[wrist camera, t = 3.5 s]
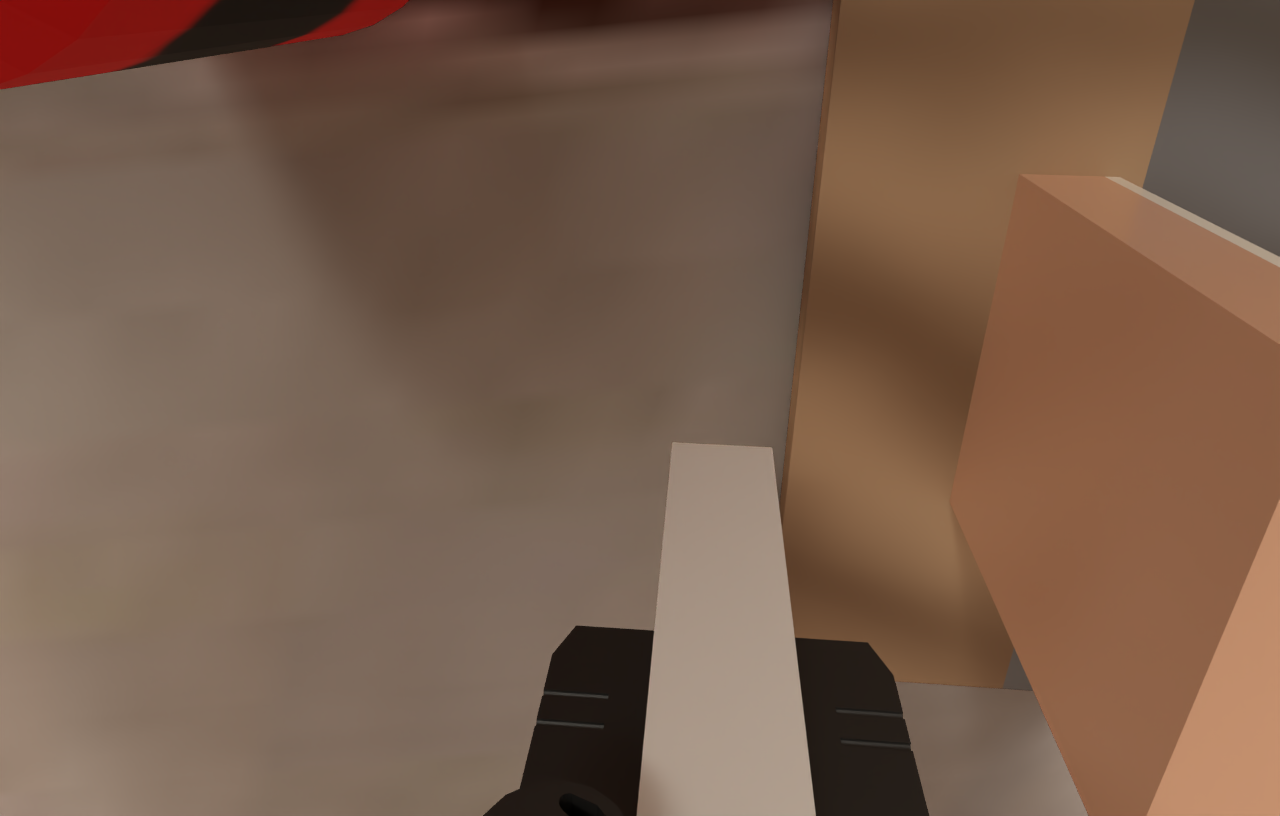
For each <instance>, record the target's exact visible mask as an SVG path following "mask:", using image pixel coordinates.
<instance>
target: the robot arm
mask: <svg viewBox="0 0 1280 816" xmlns="http://www.w3.org/2000/svg"><path fill="white" fill-rule="evenodd" d="M910 744H911V742H910V738H909V735H908V731H907V727H906V723H905V719H903V711H902V707H901V703H900V699H899V695H898V691H897V687H896V683H895V679H894V675H893V674H892V673H891V671H890V670H889V669H888V667H887V666H886V665H885V664H884V662H883V661H882V660H881V659H880V657H879V656H878V655H877V653H876V652H875V651H874V650H873V648H872V647H871V646H870V644H869V643H868V642H855V641H840V640H825V639H810V638H795V635H794V627H793V619H792V610H791V602H790V593H789V585H788V576H787V568H786V559H785V551H784V543H783V534H782V526H781V517H780V509H779V500H778V492H777V484H776V475H775V467H774V458H773V450H772V447H755V446H736V445H717V444H698V443H679V442H672V449H671V460H670V470H669V481H668V491H667V502H666V512H665V523H664V533H663V544H662V554H661V565H660V575H659V586H658V596H657V607H656V617H655V628H654V631H650V630H635V629H620V628H605V627H590V626H576V627H575V628H574V629H573V630H572V631H571V633H570V634H569V635H568V636H567V637H566V639H565V640H564V641H563V642H562V643H561V645H560V646H559V647H558V648H557V649H556V650H555V652H554V653H553V654H552V658H551V662H550V666H549V670H548V674H547V678H546V683H545V687H544V695H543V696H542V699H541V703H540V707H539V711H538V716H537V724H536V726H535V728H534V732H533V736H532V740H531V744H530V749H529V753H528V757H527V761H526V765H525V769H524V773H523V777H522V782H521V786H520V789H518V790H516V791H514V792H512V793H509V794H507V795H505V796H504V797H503V798H502V799H501V800H500V801H499V802H497V803H496V804H495V805H494V806H493V807H492V808H491V809H490V810H489V811H488V812H487V813H485V814H484V815H483V816H929V813H928V809H927V806H926V802H925V798H924V794H923V790H922V786H921V782H920V778H919V774H918V770H917V766H916V762H915V758H914V754H913V751H911V748H910Z"/></svg>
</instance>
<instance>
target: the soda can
mask: <svg viewBox="0 0 1280 816" xmlns="http://www.w3.org/2000/svg"><path fill="white" fill-rule="evenodd" d="M408 1H409V0H0V89H6V88H13V87H19V86H25V85H32V84H38V83H44V82H50V81H57V80H63V79H69V78H76V77H82V76H88V75H95V74H101V73H107V72H113V71H120V70H126V69H132V68H139V67H145V66H151V65H157V64H164V63H170V62H176V61H183V60H189V59H195V58H201V57H208V56H214V55H220V54H227V53H233V52H239V51H245V50H252V49H258V48H264V47H271V46H277V45H283V44H289V43H296V42H302V41H308V40H315V39H321V38H327V37H333V36H340V35H344V34H347V33H350V32H353V31H356V30H359V29H362V28H365V27H368V26H371V25H374V24H376V23H377V22H379V21H381V20H382V19H384V18H385V17H387V16H389V15H390V14H392V13H393V12H395V11H397V10H398V9H400V8H401V7H403V6H404V5H405V4H406V3H407V2H408Z"/></svg>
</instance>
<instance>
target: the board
mask: <svg viewBox="0 0 1280 816" xmlns="http://www.w3.org/2000/svg"><path fill="white" fill-rule="evenodd" d="M1019 174H1037V175H1069V176H1100V177H1121V178H1123V179H1125V180H1127V181H1129V182H1131V183H1133V184H1135V185H1137V186H1139V187H1141V188H1143V189H1145V190H1147V191H1149V192H1151V193H1153V194H1155V195H1157V196H1159V197H1161V198H1163V199H1165V200H1167V201H1169V202H1171V203H1173V204H1175V205H1177V206H1179V207H1181V208H1183V209H1185V210H1187V211H1189V212H1191V213H1193V214H1195V215H1197V216H1199V217H1201V218H1203V219H1205V220H1207V221H1209V222H1211V223H1213V224H1215V225H1217V226H1219V227H1221V228H1223V229H1225V230H1227V231H1229V232H1231V233H1233V234H1235V235H1237V236H1239V237H1241V238H1243V239H1245V240H1247V241H1249V242H1251V243H1253V244H1255V245H1257V246H1259V247H1261V248H1263V249H1265V250H1267V251H1269V252H1271V253H1273V254H1275V255H1277V256H1279V257H1280V0H833V8H832V17H831V26H830V36H829V45H828V55H827V64H826V73H825V83H824V92H823V102H822V111H821V120H820V130H819V139H818V149H817V158H816V167H815V177H814V186H813V196H812V205H811V214H810V224H809V233H808V243H807V252H806V261H805V271H804V280H803V289H802V299H801V308H800V318H799V327H798V336H797V346H796V355H795V365H794V374H793V383H792V393H791V402H790V412H789V421H788V430H787V440H786V449H785V459H784V468H783V477H782V487H781V496H780V506H779V509H780V517H781V526H782V534H783V543H784V551H785V559H786V568H787V576H788V585H789V593H790V602H791V610H792V619H793V627H794V635H795V638H810V639H825V640H840V641H855V642H868V643H869V644H870V646H871V647H872V648H873V650H874V651H875V652H876V653H877V655H878V656H879V657H880V659H881V660H882V661H883V662H884V664H885V665H886V666H887V667H888V669H889V670H890V671H891V673H892V674H893V675H894V679H895V681H899V682H914V683H928V684H943V685H957V686H972V687H986V688H1001V689H1015V690H1030V691H1033V689H1032V687H1031V684H1030V682H1029V680H1028V678H1027V675H1026V673H1025V671H1024V669H1023V666H1022V664H1021V662H1020V660H1019V657H1018V655H1017V653H1016V651H1015V648H1014V646H1013V644H1012V642H1011V639H1010V637H1009V635H1008V633H1007V630H1006V628H1005V626H1004V624H1003V621H1002V619H1001V617H1000V615H999V612H998V610H997V608H996V606H995V603H994V601H993V599H992V596H991V594H990V592H989V590H988V587H987V585H986V583H985V581H984V578H983V576H982V574H981V572H980V569H979V567H978V565H977V563H976V560H975V558H974V556H973V554H972V551H971V549H970V547H969V545H968V542H967V540H966V538H965V536H964V533H963V531H962V529H961V527H960V524H959V522H958V520H957V518H956V515H955V513H954V511H953V509H952V506H951V504H950V497H951V492H952V487H953V483H954V478H955V473H956V469H957V464H958V459H959V455H960V450H961V445H962V441H963V436H964V431H965V426H966V422H967V417H968V412H969V408H970V403H971V398H972V394H973V389H974V384H975V380H976V375H977V370H978V365H979V361H980V356H981V351H982V347H983V342H984V337H985V333H986V328H987V323H988V319H989V314H990V309H991V304H992V300H993V295H994V290H995V286H996V281H997V276H998V272H999V267H1000V262H1001V258H1002V253H1003V248H1004V243H1005V239H1006V234H1007V229H1008V225H1009V220H1010V215H1011V211H1012V206H1013V201H1014V197H1015V192H1016V187H1017V182H1018V178H1019Z"/></svg>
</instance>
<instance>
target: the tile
mask: <svg viewBox="0 0 1280 816" xmlns="http://www.w3.org/2000/svg"><path fill="white" fill-rule="evenodd" d="M950 504H951V506H952V509H953V511H954V513H955V515H956V518H957V520H958V522H959V524H960V527H961V529H962V531H963V533H964V536H965V538H966V540H967V542H968V545H969V547H970V549H971V551H972V554H973V556H974V558H975V560H976V563H977V565H978V567H979V569H980V572H981V574H982V576H983V578H984V581H985V583H986V585H987V587H988V590H989V592H990V594H991V596H992V599H993V601H994V603H995V606H996V608H997V610H998V612H999V615H1000V617H1001V619H1002V621H1003V624H1004V626H1005V628H1006V630H1007V633H1008V635H1009V637H1010V639H1011V642H1012V644H1013V646H1014V648H1015V651H1016V653H1017V655H1018V657H1019V660H1020V662H1021V664H1022V666H1023V669H1024V671H1025V673H1026V675H1027V678H1028V680H1029V682H1030V684H1031V687H1032V689H1033V691H1034V693H1035V696H1036V698H1037V700H1038V702H1039V705H1040V707H1041V709H1042V711H1043V714H1044V716H1045V718H1046V721H1047V723H1048V725H1049V727H1050V730H1051V732H1052V734H1053V736H1054V739H1055V741H1056V743H1057V745H1058V748H1059V750H1060V752H1061V754H1062V757H1063V759H1064V761H1065V763H1066V766H1067V768H1068V770H1069V772H1070V775H1071V777H1072V779H1073V781H1074V784H1075V786H1076V788H1077V790H1078V793H1079V795H1080V797H1081V799H1082V802H1083V804H1084V806H1085V808H1086V811H1087V813H1088V815H1089V816H1280V257H1279V256H1277V255H1275V254H1273V253H1271V252H1269V251H1267V250H1265V249H1263V248H1261V247H1259V246H1257V245H1255V244H1253V243H1251V242H1249V241H1247V240H1245V239H1243V238H1241V237H1239V236H1237V235H1235V234H1233V233H1231V232H1229V231H1227V230H1225V229H1223V228H1221V227H1219V226H1217V225H1215V224H1213V223H1211V222H1209V221H1207V220H1205V219H1203V218H1201V217H1199V216H1197V215H1195V214H1193V213H1191V212H1189V211H1187V210H1185V209H1183V208H1181V207H1179V206H1177V205H1175V204H1173V203H1171V202H1169V201H1167V200H1165V199H1163V198H1161V197H1159V196H1157V195H1155V194H1153V193H1151V192H1149V191H1147V190H1145V189H1143V188H1141V187H1139V186H1137V185H1135V184H1133V183H1131V182H1129V181H1127V180H1125V179H1123V178H1121V177H1100V176H1069V175H1037V174H1019V178H1018V182H1017V187H1016V192H1015V197H1014V201H1013V206H1012V211H1011V215H1010V220H1009V225H1008V229H1007V234H1006V239H1005V243H1004V248H1003V253H1002V258H1001V262H1000V267H999V272H998V276H997V281H996V286H995V290H994V295H993V300H992V304H991V309H990V314H989V319H988V323H987V328H986V333H985V337H984V342H983V347H982V351H981V356H980V361H979V365H978V370H977V375H976V380H975V384H974V389H973V394H972V398H971V403H970V408H969V412H968V417H967V422H966V426H965V431H964V436H963V441H962V445H961V450H960V455H959V459H958V464H957V469H956V473H955V478H954V483H953V487H952V492H951V497H950Z"/></svg>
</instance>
